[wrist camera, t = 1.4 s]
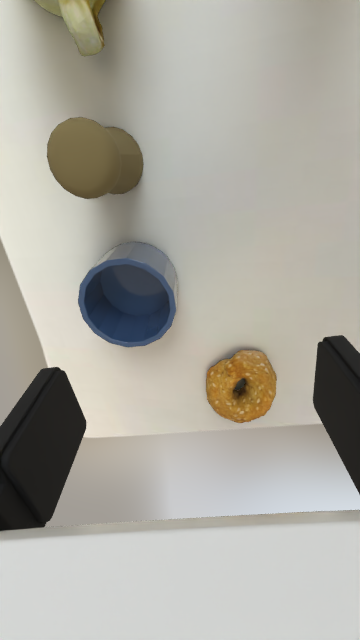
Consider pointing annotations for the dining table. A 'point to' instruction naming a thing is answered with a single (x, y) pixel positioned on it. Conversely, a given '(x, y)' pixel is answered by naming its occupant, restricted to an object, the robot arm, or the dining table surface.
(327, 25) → the dining table surface
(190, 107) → the dining table surface
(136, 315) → the crock
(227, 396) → the bagel
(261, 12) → the dining table surface
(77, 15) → the mug
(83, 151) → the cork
